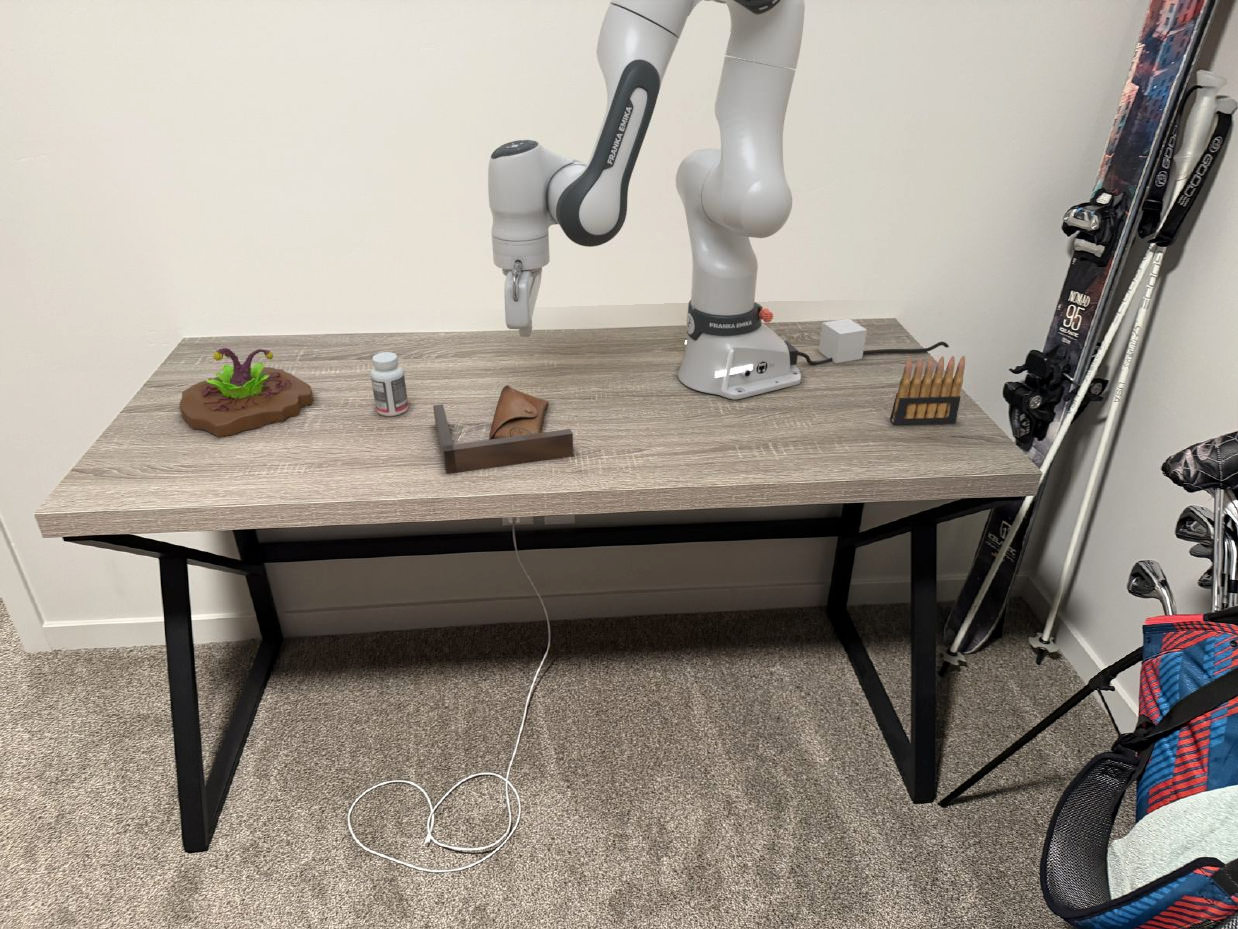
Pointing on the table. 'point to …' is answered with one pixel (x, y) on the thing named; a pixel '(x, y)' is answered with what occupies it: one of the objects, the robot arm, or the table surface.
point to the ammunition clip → (928, 394)
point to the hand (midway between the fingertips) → (526, 333)
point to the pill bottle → (388, 385)
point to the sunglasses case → (517, 414)
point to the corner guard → (499, 448)
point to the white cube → (842, 340)
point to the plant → (243, 397)
